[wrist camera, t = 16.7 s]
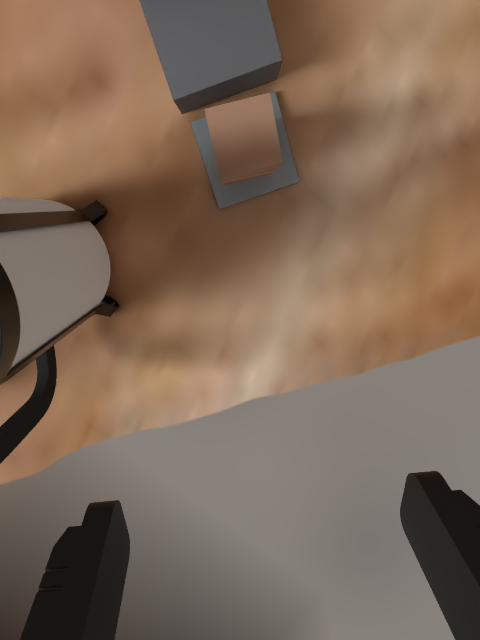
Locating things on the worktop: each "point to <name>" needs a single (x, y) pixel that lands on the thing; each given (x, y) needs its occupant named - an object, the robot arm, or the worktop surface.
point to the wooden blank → (244, 138)
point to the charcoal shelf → (213, 47)
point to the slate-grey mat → (253, 186)
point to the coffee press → (45, 294)
